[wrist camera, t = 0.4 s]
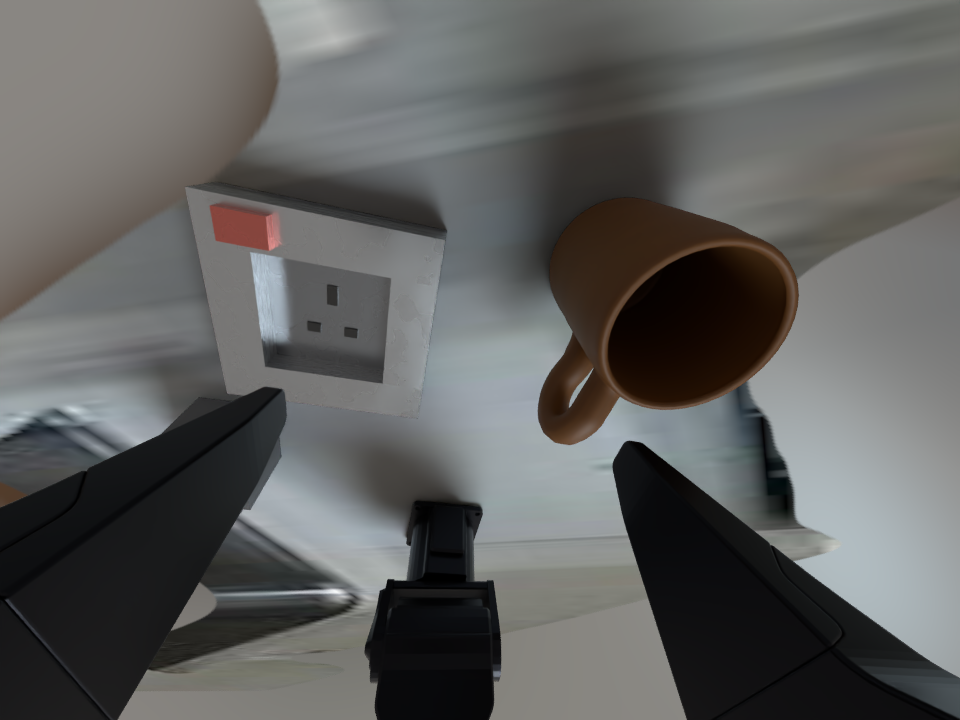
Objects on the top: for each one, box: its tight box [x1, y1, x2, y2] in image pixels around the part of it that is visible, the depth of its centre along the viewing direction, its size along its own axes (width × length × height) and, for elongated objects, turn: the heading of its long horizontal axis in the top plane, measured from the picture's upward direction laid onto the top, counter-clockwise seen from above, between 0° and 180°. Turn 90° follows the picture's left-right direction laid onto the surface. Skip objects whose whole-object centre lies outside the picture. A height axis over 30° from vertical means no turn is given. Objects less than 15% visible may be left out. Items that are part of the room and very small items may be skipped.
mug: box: [538, 198, 799, 445], centre depth 18 cm, size 12×8×9 cm, turn 146°
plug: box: [160, 398, 281, 512], centre depth 24 cm, size 5×5×6 cm
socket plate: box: [185, 182, 447, 419], centre depth 21 cm, size 12×12×3 cm
